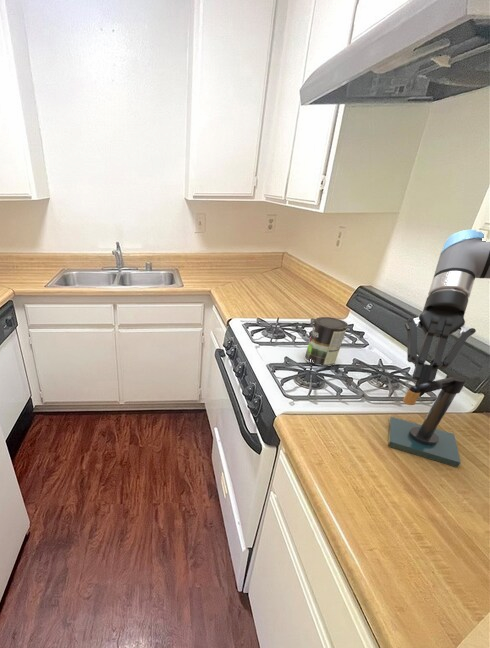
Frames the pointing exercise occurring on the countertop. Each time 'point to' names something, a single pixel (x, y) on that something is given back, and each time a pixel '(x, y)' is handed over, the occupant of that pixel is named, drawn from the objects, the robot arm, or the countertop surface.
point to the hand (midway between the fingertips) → (418, 393)
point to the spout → (435, 387)
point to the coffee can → (325, 340)
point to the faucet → (426, 434)
